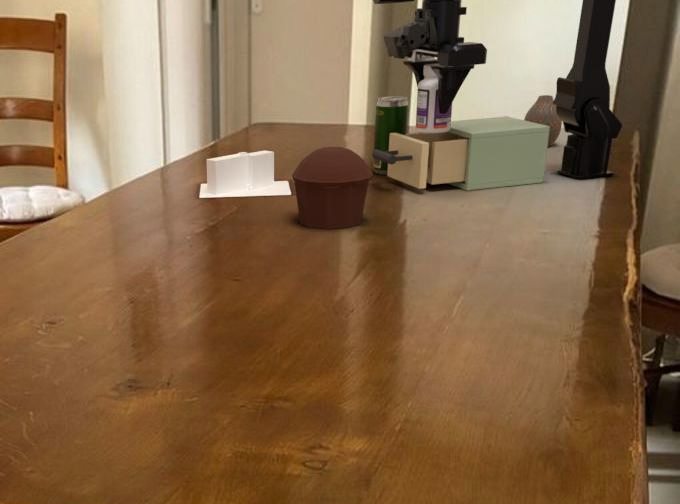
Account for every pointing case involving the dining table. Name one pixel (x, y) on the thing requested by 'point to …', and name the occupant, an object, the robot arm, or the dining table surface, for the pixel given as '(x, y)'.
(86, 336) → the dining table surface
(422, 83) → the pill bottle
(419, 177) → the drawer
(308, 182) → the muffin
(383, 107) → the beer can
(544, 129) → the cabinet
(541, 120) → the vase
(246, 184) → the napkin holder
